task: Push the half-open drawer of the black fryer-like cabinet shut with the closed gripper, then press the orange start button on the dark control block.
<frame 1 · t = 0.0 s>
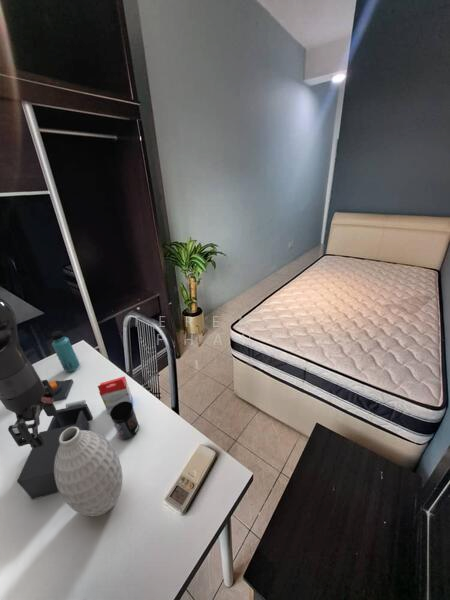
hand: (46, 429, 62), 20 cm above the table, tool pointing down, fingers open, 8 cm apart
cabinet: (63, 467, 73), on the table
vase: (106, 499, 66), on the table
supplement container: (129, 431, 83), on the table
start button: (51, 386, 97), point 4 cm above the table, slide at 0.1 cm
drawer: (69, 424, 81), point 5 cm above the table, slide at 7.0 cm
beverage bottle: (73, 369, 110), on the table
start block: (55, 393, 99), on the table
ink box: (121, 406, 91), on the table
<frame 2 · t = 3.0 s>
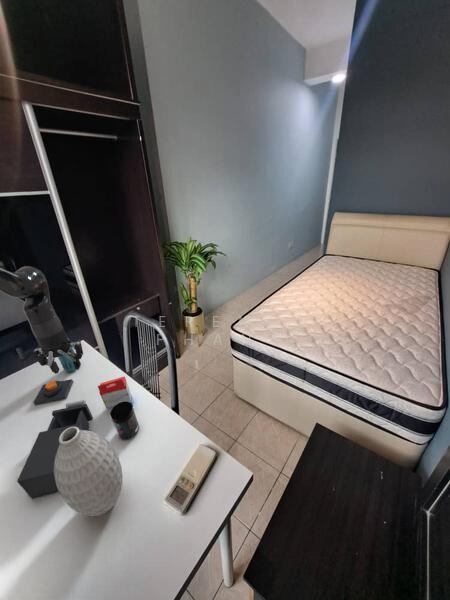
hand: (67, 369, 85), 18 cm above the table, tool pointing down, fingers open, 6 cm apart
nothing on the table moved.
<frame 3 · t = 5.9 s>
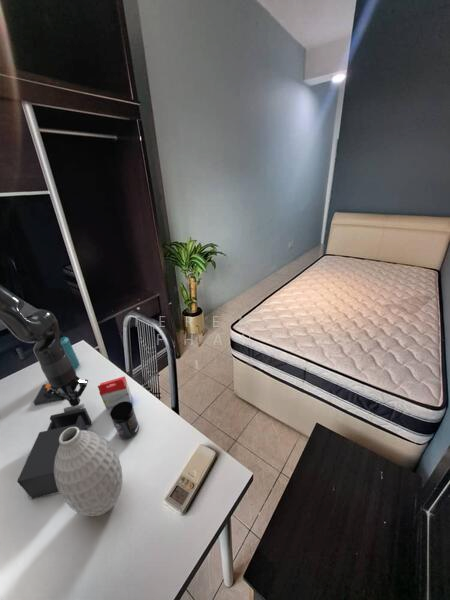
hand: (76, 404, 87), 5 cm above the table, tool pointing down, fingers closed
drawer: (68, 429, 79), point 5 cm above the table, slide at 5.2 cm, touching gripper
everything else where it was.
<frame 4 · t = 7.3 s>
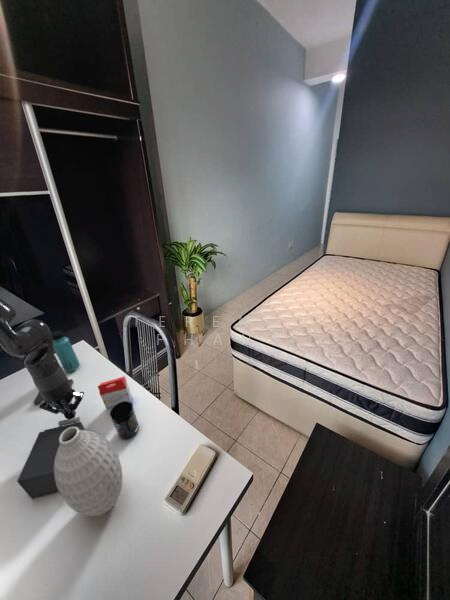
hand: (71, 417, 82), 5 cm above the table, tool pointing down, fingers closed
drawer: (62, 445, 75), point 5 cm above the table, slide at 0.0 cm, touching cabinet, gripper
everything else where it was.
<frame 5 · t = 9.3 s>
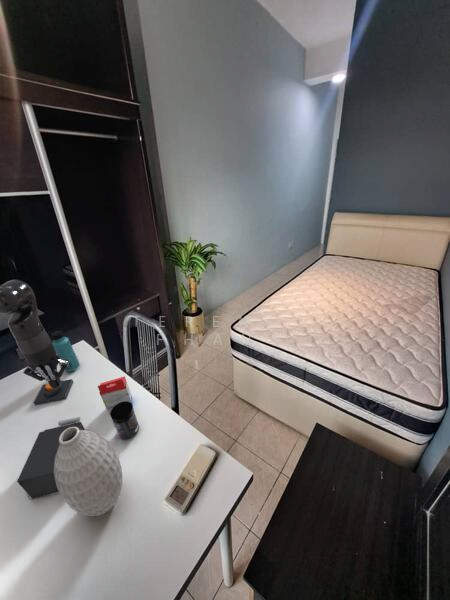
hand: (57, 386, 82), 15 cm above the table, tool pointing down, fingers closed
drawer: (62, 445, 75), point 5 cm above the table, slide at 0.0 cm, touching cabinet
everything else where it was.
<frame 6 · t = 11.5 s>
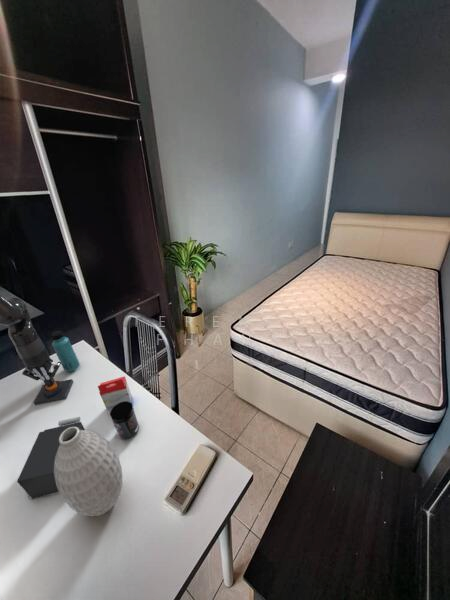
hand: (51, 384, 96), 5 cm above the table, tool pointing down, fingers closed
start button: (51, 386, 97), point 4 cm above the table, slide at -0.2 cm, touching gripper
everything else where it was.
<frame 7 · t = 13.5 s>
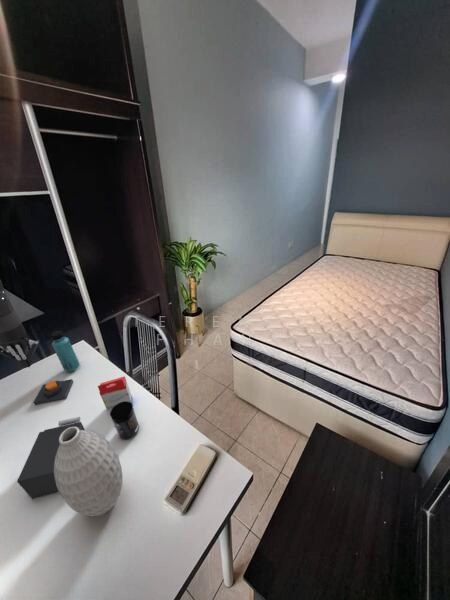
hand: (28, 365, 88), 17 cm above the table, tool pointing down, fingers closed
start button: (51, 386, 97), point 4 cm above the table, slide at 0.1 cm
everything else where it was.
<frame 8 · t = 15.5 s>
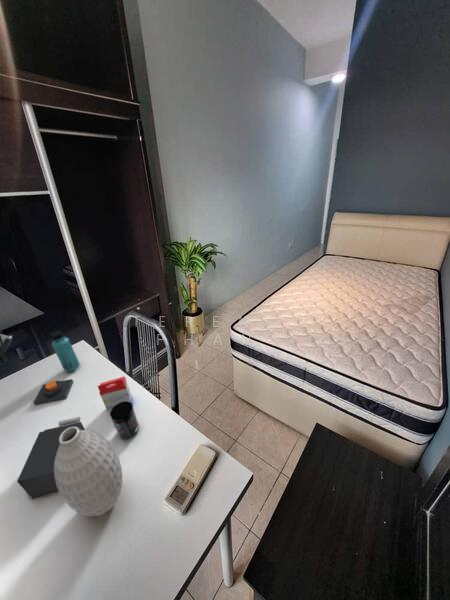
hand: (2, 362, 81), 23 cm above the table, tool pointing down, fingers closed
nothing on the table moved.
at the end: drawer slide at 0.0 cm; start button pushed in 1.1 cm at the most during the clip, back to where it started at the end; start button slide at 0.1 cm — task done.
